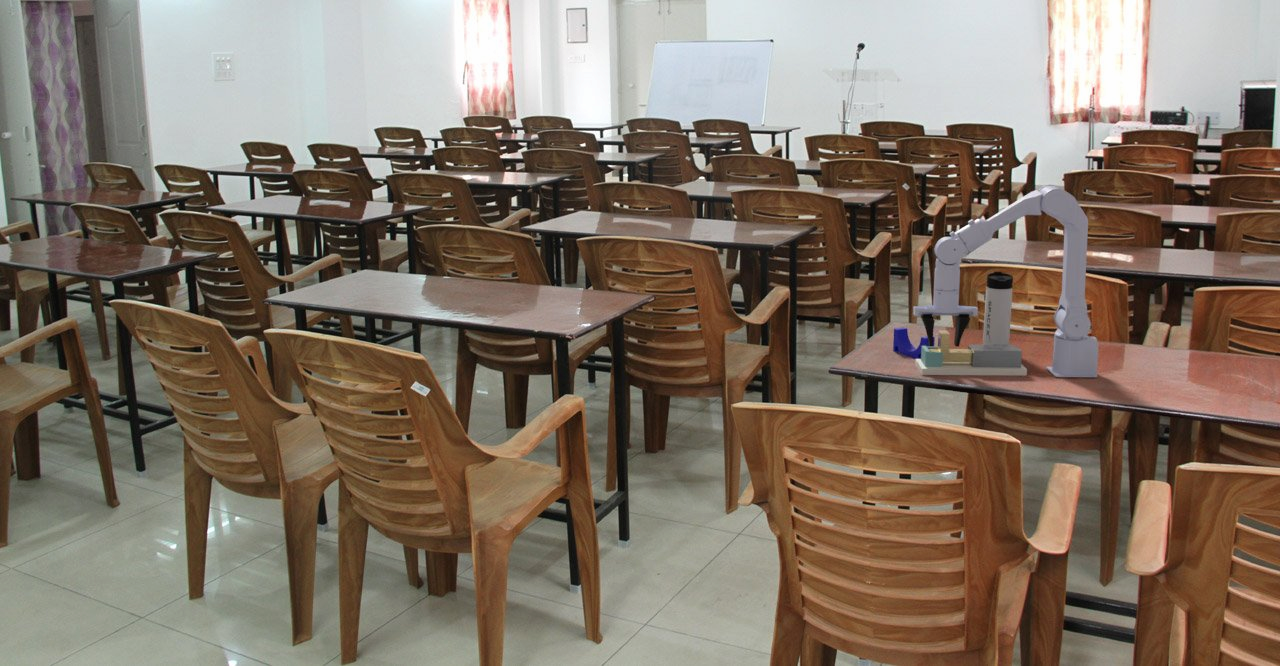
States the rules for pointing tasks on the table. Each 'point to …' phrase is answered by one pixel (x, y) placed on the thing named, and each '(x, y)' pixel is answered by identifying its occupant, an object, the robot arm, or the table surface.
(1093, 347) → the robot arm
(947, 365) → the base board
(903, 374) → the table surface
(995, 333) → the travel mug
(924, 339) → the blue curved bracket
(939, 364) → the socket
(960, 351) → the slide bar
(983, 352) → the sleeve
